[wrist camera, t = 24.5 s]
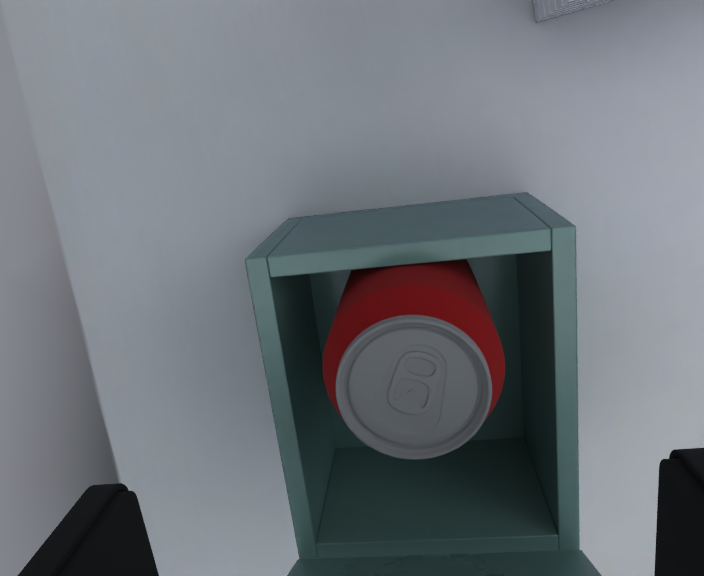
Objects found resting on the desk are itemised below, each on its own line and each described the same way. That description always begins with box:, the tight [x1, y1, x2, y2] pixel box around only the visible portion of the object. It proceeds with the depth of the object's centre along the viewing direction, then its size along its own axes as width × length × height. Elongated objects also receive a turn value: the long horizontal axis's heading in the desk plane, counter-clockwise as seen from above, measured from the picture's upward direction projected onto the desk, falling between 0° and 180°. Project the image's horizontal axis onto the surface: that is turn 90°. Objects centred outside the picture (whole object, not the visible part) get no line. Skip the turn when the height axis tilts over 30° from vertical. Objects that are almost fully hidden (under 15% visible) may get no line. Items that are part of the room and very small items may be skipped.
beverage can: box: [323, 259, 505, 459], centre depth 25 cm, size 7×7×12 cm
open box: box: [245, 192, 579, 559], centre depth 29 cm, size 15×13×9 cm
